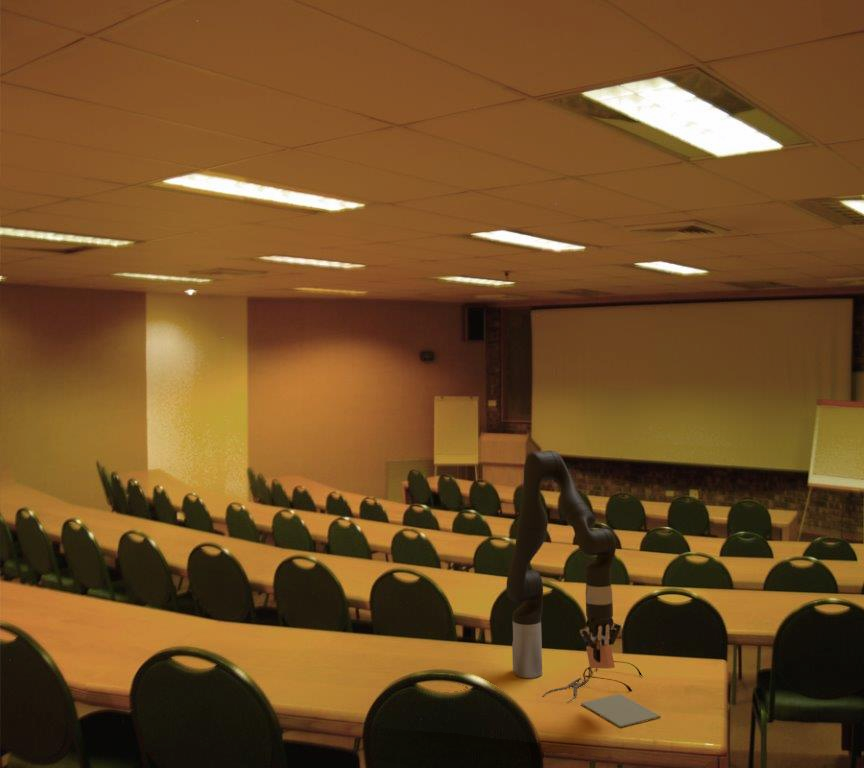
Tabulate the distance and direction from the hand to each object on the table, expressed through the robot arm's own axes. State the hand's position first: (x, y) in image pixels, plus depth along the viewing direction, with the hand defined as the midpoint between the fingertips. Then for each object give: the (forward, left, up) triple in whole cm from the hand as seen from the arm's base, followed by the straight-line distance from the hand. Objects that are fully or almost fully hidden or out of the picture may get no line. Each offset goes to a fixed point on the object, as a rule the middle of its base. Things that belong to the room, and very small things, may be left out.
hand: (600, 660), depth 230 cm
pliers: (-20, +2, -16) cm, 26 cm away
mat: (+1, +6, -15) cm, 16 cm away
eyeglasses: (-19, +19, -16) cm, 31 cm away
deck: (+1, 0, -2) cm, 2 cm away
